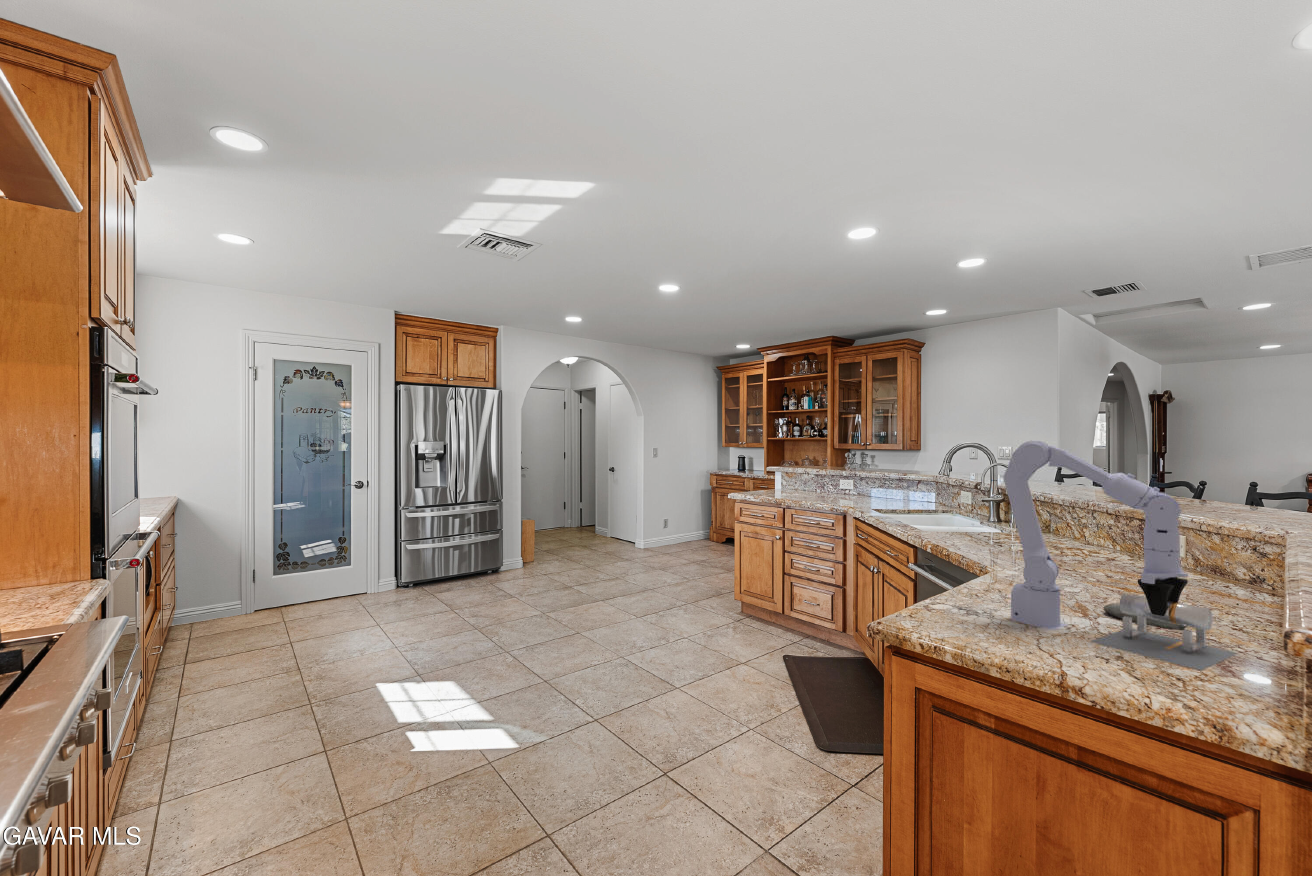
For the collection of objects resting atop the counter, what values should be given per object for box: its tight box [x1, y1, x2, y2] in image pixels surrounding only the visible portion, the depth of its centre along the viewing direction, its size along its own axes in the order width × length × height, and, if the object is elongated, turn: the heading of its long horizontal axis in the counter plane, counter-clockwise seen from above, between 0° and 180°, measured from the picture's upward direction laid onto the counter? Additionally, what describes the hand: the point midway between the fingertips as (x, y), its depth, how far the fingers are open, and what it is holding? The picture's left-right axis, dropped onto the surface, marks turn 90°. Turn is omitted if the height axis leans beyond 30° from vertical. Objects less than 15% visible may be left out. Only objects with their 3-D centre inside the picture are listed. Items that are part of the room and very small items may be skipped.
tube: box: [1119, 593, 1214, 632], centre depth 119 cm, size 14×4×4 cm, turn 28°
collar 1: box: [1122, 616, 1148, 639], centre depth 123 cm, size 1×8×4 cm, turn 118°
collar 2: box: [1181, 628, 1208, 654], centre depth 114 cm, size 1×8×4 cm, turn 118°
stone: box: [1103, 603, 1186, 632], centre depth 135 cm, size 11×4×15 cm
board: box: [1089, 628, 1238, 672], centre depth 116 cm, size 18×18×1 cm
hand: (1163, 613), depth 119 cm, fingers closed on tube, 4 cm apart
